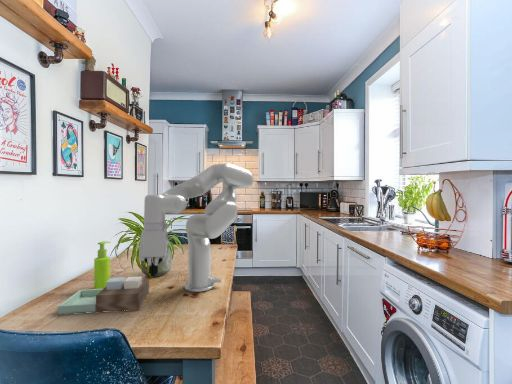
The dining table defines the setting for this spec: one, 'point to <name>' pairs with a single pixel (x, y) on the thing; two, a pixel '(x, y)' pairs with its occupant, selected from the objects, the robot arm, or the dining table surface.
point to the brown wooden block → (122, 298)
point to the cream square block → (132, 282)
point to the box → (80, 302)
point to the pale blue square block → (115, 283)
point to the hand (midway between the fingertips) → (153, 275)
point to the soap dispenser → (101, 267)
